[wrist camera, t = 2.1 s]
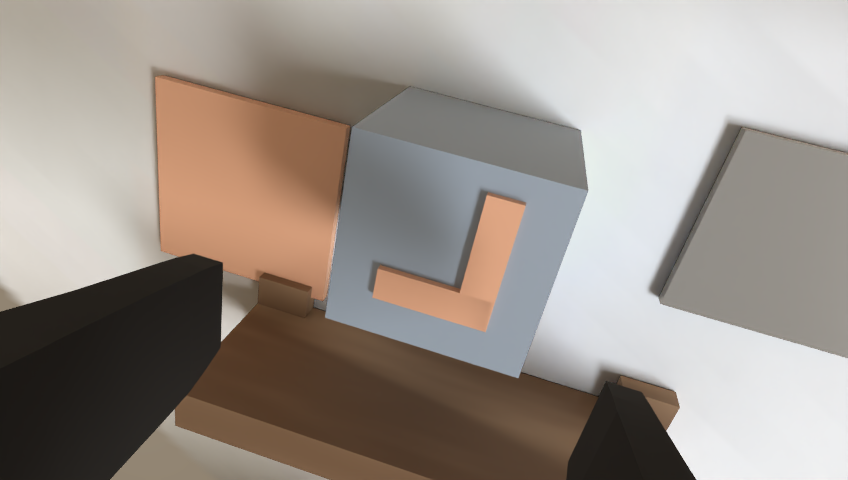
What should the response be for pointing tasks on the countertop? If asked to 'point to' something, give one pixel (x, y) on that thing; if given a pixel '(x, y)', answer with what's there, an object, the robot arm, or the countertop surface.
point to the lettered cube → (454, 226)
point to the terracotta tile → (248, 183)
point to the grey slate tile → (771, 244)
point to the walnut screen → (381, 402)
